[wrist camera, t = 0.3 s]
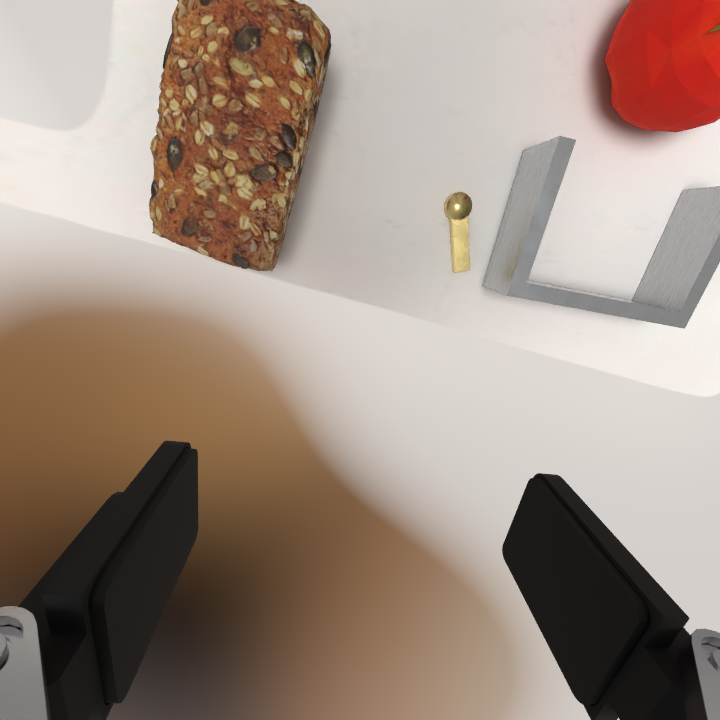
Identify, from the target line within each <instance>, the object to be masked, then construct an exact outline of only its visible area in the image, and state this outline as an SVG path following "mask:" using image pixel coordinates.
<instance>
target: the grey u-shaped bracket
mask: <svg viewBox="0 0 720 720" xmlns="http://www.w3.org/2000/svg"><path fill="white" fill-rule="evenodd" d="M575 142H576V140H574V139H570V138H566V137H562V136H558V137H556V138H554V139H551V140H549V141H546V142H544V143H541V144H539V145H537V146H534V147H532V148H529V149H527V150H524V151H523V153H522V157H521V160H520V163H519V167H518V170H517V173H516V176H515V180H514V183H513V186H512V190H511V193H510V196H509V199H508V203H507V206H506V209H505V213H504V216H503V219H502V222H501V226H500V229H499V232H498V235H497V239H496V242H495V245H494V249H493V252H492V255H491V258H490V262H489V265H488V268H487V272H486V275H485V278H484V281H483V285H482V286H484V287H487V288H489V289H492V290H494V291H497V292H500V293H502V294H505V295H508V296H513V297H518V298H524V299H529V300H535V301H540V302H545V303H551V304H556V305H561V306H567V307H572V308H577V309H583V310H588V311H593V312H599V313H604V314H610V315H615V316H620V317H626V318H631V319H636V320H642V321H647V322H652V323H658V324H663V325H668V326H674V327H679V328H685V327H686V325H687V323H688V321H689V319H690V317H691V316H692V314H693V312H694V310H695V308H696V306H697V304H698V302H699V300H700V298H701V297H702V295H703V293H704V291H705V289H706V287H707V285H708V283H709V281H710V279H711V278H712V276H713V274H714V272H715V270H716V268H717V266H718V264H719V262H720V186H717V187H708V188H699V189H690V190H683V191H682V193H681V195H680V198H679V200H678V202H677V204H676V206H675V209H674V211H673V213H672V215H671V217H670V219H669V222H668V224H667V226H666V228H665V230H664V233H663V235H662V237H661V239H660V241H659V243H658V246H657V248H656V250H655V252H654V254H653V257H652V259H651V261H650V263H649V265H648V267H647V270H646V272H645V274H644V276H643V278H642V280H641V283H640V285H639V287H638V289H637V291H636V294H635V296H634V298H633V300H632V301H631V300H626V299H621V298H616V297H610V296H605V295H600V294H595V293H590V292H585V291H580V290H574V289H569V288H564V287H559V286H554V285H549V284H543V283H538V282H533V281H528V277H529V274H530V271H531V268H532V265H533V263H534V260H535V257H536V254H537V251H538V248H539V245H540V242H541V239H542V237H543V234H544V231H545V228H546V225H547V222H548V219H549V216H550V214H551V211H552V208H553V205H554V202H555V199H556V196H557V193H558V191H559V188H560V185H561V182H562V179H563V176H564V173H565V170H566V167H567V165H568V162H569V159H570V156H571V153H572V150H573V147H574V144H575Z"/></svg>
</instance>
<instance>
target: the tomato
mask: <svg viewBox="0 0 720 720" xmlns="http://www.w3.org/2000/svg"><path fill="white" fill-rule="evenodd" d="M605 63H606V66H607V69H608V72H609V75H610V78H611V80H612V88H611V105H612V106H613V107H614V109H615V110H616V111H617V112H618V113H619V115H620V116H621V117H622V118H623V119H624V121H625V122H628V123H630V124H632V125H634V126H637V127H639V128H641V129H643V130H658V131H670V132H678V131H683V130H688V129H693V128H696V127H700V126H703V125H707V124H710V123H714V122H715V121H717V120H718V119H720V0H631V2H630V3H629V5H628V7H627V9H626V10H625V12H624V14H623V16H622V17H621V19H620V21H619V22H618V24H617V26H616V28H615V30H614V33H613V36H612V39H611V42H610V45H609V48H608V51H607V54H606V57H605Z"/></svg>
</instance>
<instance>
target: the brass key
mask: <svg viewBox="0 0 720 720" xmlns="http://www.w3.org/2000/svg"><path fill="white" fill-rule="evenodd" d="M471 209H472V202H471V199H470V197H469V196H468V195H467V194H465V193H462V192H460V193H455V194H452V195H451V196H449V197H448V199H447V200H446V202H445V205H444V211H445V214H446V216H447V217H448V218H449V219H450V232H451V248H452V264H453V272H455V273H456V272H462V271H467V270H470V257H469V236H468V215H469V213H470V212H471Z"/></svg>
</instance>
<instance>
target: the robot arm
mask: <svg viewBox="0 0 720 720" xmlns="http://www.w3.org/2000/svg"><path fill="white" fill-rule="evenodd" d="M197 532H198V453H197V450H196V449H191V446H190V443H187V442H176V441H164V443H162V445H161V446H160V447H159V448H158V450H157V451H156V452H155V453H154V455H153V456H152V457H151V458H150V460H149V461H148V462H147V463H146V465H145V466H144V467H143V468H142V470H141V471H140V472H139V473H138V475H137V476H136V477H135V478H134V480H133V481H132V482H131V483H130V485H129V486H128V487H127V488H126V490H125V491H124V492H117V493H115V494H113V495H112V496H111V497H110V498H109V499H108V500H107V501H106V502H105V503H104V505H103V506H102V507H101V508H100V509H99V511H98V512H97V513H96V514H95V515H94V516H93V518H92V519H91V520H90V521H89V522H88V524H87V525H86V526H85V527H84V528H83V530H82V531H81V532H80V533H79V534H78V535H77V537H76V538H75V539H74V541H72V543H71V544H70V545H69V546H68V548H67V549H66V550H65V551H64V552H63V553H62V555H61V556H60V557H59V558H58V560H57V561H56V562H55V563H54V564H53V565H52V567H51V568H50V569H49V570H48V571H47V573H46V574H45V575H44V576H43V577H42V579H41V580H40V581H39V582H38V583H37V585H36V586H35V587H34V588H33V589H32V591H31V592H30V593H29V594H28V595H27V596H26V598H25V599H24V600H23V601H22V602H21V604H20V605H19V606H18V607H12V606H7V607H1V608H0V720H106V718H107V716H108V714H109V712H110V710H111V708H112V705H113V703H121V702H122V701H123V700H124V698H125V697H126V695H127V693H128V691H129V689H130V686H131V684H132V682H133V680H134V677H135V675H136V673H137V671H138V668H139V666H140V664H141V662H142V659H143V657H144V655H145V653H146V650H147V648H148V646H149V644H150V642H151V639H152V637H153V635H154V632H155V630H156V628H157V626H158V624H159V621H160V619H161V617H162V615H163V612H164V610H165V608H166V606H167V603H168V601H169V599H170V597H171V594H172V592H173V590H174V588H175V585H176V583H177V581H178V578H179V576H180V574H181V572H182V569H183V567H184V565H185V563H186V560H187V558H188V556H189V554H190V552H191V549H192V547H193V545H194V542H195V540H196V537H197ZM502 551H503V557H504V560H505V562H506V564H507V566H508V567H509V570H510V571H511V573H512V575H513V577H514V579H515V581H516V583H517V585H518V587H519V589H520V591H521V593H522V595H523V597H524V599H525V601H526V603H527V605H528V607H529V609H530V611H531V613H532V614H533V616H534V618H535V620H536V622H537V624H538V626H539V628H540V630H541V632H542V634H543V636H544V638H545V640H546V642H547V644H548V646H549V648H550V650H551V652H552V654H553V655H554V657H555V659H556V661H557V663H558V665H559V667H560V669H561V671H562V673H563V675H564V677H565V679H566V681H567V683H568V685H569V687H570V689H571V691H572V693H573V694H574V696H575V697H576V699H577V700H578V701H579V702H580V703H582V704H583V705H584V707H585V709H586V711H587V713H588V715H589V717H590V719H591V720H617V719H618V717H619V719H620V720H720V633H718V632H716V631H712V630H708V629H696V630H695V631H694V632H693V633H692V634H691V635H690V634H689V633H688V632H687V631H686V630H685V629H684V628H683V627H684V625H685V624H686V623H687V621H688V620H689V617H688V616H687V615H686V614H685V613H684V612H683V611H682V609H681V608H680V607H679V606H678V605H677V604H676V603H675V602H674V601H673V600H672V598H671V597H670V596H669V595H668V594H667V593H666V592H665V591H664V590H663V588H662V587H661V586H660V585H659V584H658V583H657V582H656V581H655V580H654V579H653V578H652V576H651V575H650V574H649V573H648V572H647V571H646V570H645V569H644V568H643V567H642V565H641V564H640V563H639V562H638V561H637V560H636V559H635V558H634V557H633V555H632V554H631V553H630V552H629V551H628V550H627V549H626V548H625V547H624V546H623V545H622V544H621V542H620V541H619V540H618V539H617V538H616V537H615V536H614V535H613V534H612V532H610V530H609V529H608V528H607V527H606V526H605V525H604V524H603V523H602V521H601V520H600V519H599V518H598V517H597V516H596V515H595V514H594V513H593V512H592V510H591V509H590V508H589V507H588V506H587V505H586V504H585V503H584V502H583V500H582V499H581V498H580V497H579V496H578V495H577V494H576V493H575V492H574V491H573V489H572V488H571V487H570V486H569V485H568V484H567V483H566V482H565V481H564V480H563V479H562V478H561V477H560V476H558V475H552V474H541V473H539V474H536V475H535V476H534V477H533V478H531V479H530V480H529V481H528V484H527V486H526V489H525V491H524V494H523V496H522V499H521V501H520V504H519V506H518V509H517V511H516V514H515V516H514V519H513V521H512V524H511V526H510V529H509V531H508V534H507V536H506V539H505V541H504V544H503V549H502Z"/></svg>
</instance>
